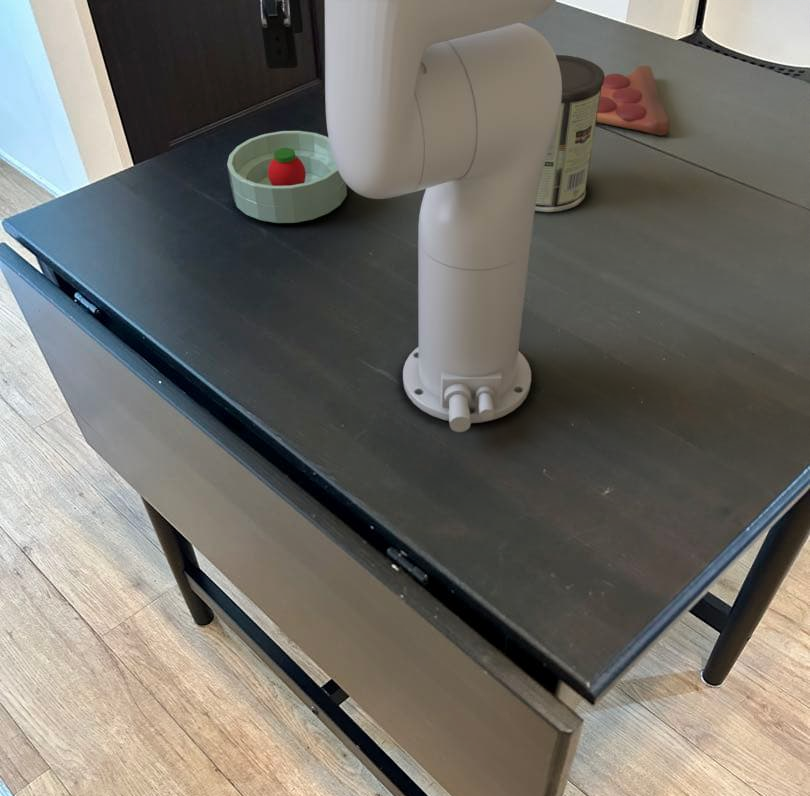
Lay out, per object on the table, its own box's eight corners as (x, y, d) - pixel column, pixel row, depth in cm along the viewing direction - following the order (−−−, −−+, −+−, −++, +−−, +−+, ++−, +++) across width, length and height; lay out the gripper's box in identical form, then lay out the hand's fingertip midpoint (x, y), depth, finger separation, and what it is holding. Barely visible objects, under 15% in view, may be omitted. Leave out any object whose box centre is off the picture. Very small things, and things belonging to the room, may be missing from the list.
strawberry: (306, 201, 103) (302, 161, 99) (269, 202, 103) (263, 162, 99) (308, 182, 106) (304, 143, 102) (272, 183, 106) (267, 144, 102)
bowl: (345, 226, 101) (342, 186, 97) (228, 228, 101) (220, 189, 97) (348, 167, 110) (346, 129, 106) (241, 170, 110) (234, 131, 106)
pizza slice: (672, 121, 111) (522, 121, 112) (668, 138, 113) (520, 138, 114) (651, 63, 123) (516, 64, 124) (648, 79, 125) (515, 80, 126)
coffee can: (519, 164, 109) (530, 48, 98) (595, 180, 106) (615, 62, 95) (491, 202, 103) (499, 83, 92) (570, 220, 101) (589, 99, 90)
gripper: (295, -130, 72) (316, 80, 85) (306, -173, 83) (323, 19, 96) (209, -127, 72) (243, 83, 85) (231, -170, 83) (259, 21, 96)
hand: (286, 49), depth 91 cm, fingers open, 9 cm apart
